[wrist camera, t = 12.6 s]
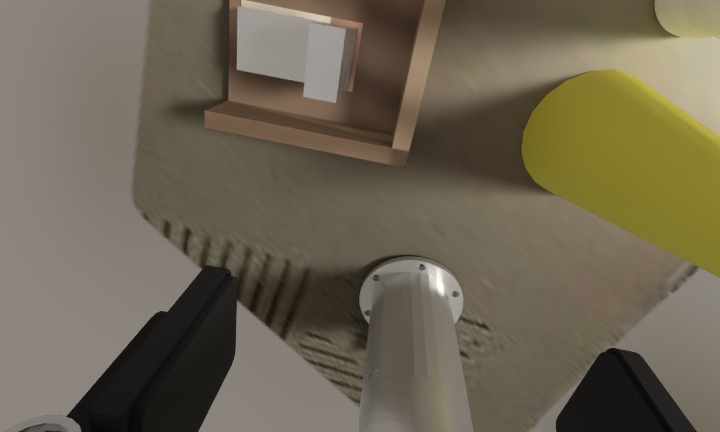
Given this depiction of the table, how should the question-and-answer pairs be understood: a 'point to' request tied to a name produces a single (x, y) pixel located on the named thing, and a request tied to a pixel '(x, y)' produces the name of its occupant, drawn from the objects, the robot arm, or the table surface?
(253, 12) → the bracket
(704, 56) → the table surface
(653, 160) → the cone
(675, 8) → the water bottle
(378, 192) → the table surface
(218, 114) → the tray
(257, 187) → the table surface
